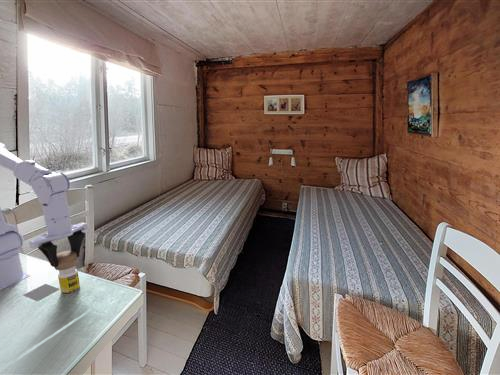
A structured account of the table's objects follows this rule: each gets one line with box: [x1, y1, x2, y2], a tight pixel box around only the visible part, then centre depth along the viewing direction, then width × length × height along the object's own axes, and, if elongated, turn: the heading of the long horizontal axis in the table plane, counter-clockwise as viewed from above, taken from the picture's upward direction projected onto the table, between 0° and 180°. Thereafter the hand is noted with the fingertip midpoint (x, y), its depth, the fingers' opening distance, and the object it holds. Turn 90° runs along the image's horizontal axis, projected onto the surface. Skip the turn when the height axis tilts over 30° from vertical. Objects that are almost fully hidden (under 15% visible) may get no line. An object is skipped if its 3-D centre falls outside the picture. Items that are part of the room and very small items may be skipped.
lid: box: [54, 250, 79, 271], centre depth 76 cm, size 6×6×3 cm
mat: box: [23, 283, 60, 302], centre depth 78 cm, size 7×6×1 cm
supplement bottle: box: [57, 265, 81, 296], centre depth 78 cm, size 5×5×8 cm
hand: (65, 261), depth 77 cm, fingers closed on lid, 5 cm apart
